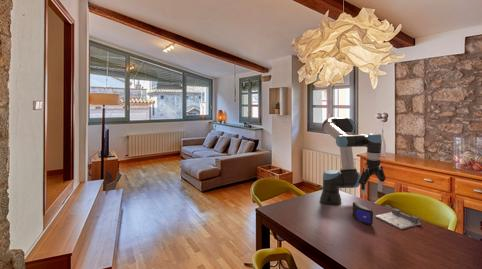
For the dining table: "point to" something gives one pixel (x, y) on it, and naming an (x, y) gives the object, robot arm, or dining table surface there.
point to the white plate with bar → (399, 219)
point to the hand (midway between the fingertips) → (371, 192)
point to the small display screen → (362, 214)
